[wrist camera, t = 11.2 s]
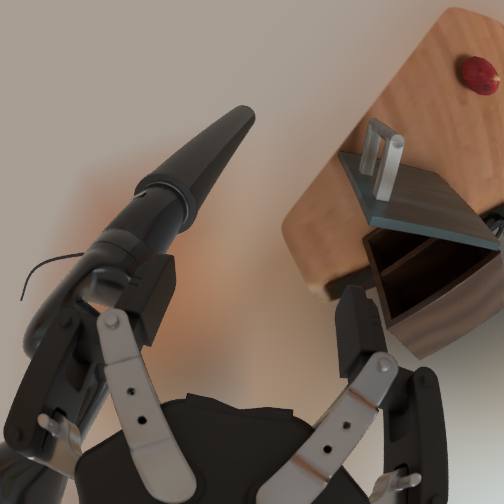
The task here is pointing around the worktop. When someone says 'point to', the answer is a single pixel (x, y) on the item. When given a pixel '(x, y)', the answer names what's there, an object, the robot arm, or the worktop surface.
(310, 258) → the worktop surface
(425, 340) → the cupboard
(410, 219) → the door
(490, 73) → the onion
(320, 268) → the worktop surface
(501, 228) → the milk frother
